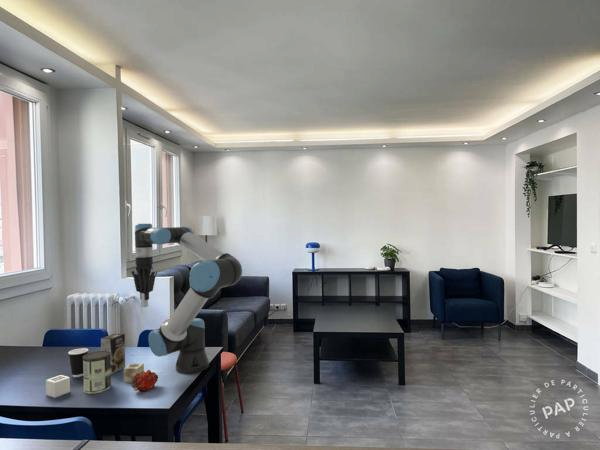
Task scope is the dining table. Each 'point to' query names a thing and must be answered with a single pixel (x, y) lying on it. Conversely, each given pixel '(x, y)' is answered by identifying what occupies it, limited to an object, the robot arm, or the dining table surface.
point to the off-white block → (57, 386)
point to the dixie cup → (77, 361)
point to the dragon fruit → (144, 380)
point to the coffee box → (115, 350)
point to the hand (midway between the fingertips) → (144, 306)
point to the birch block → (132, 371)
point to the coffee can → (97, 372)
